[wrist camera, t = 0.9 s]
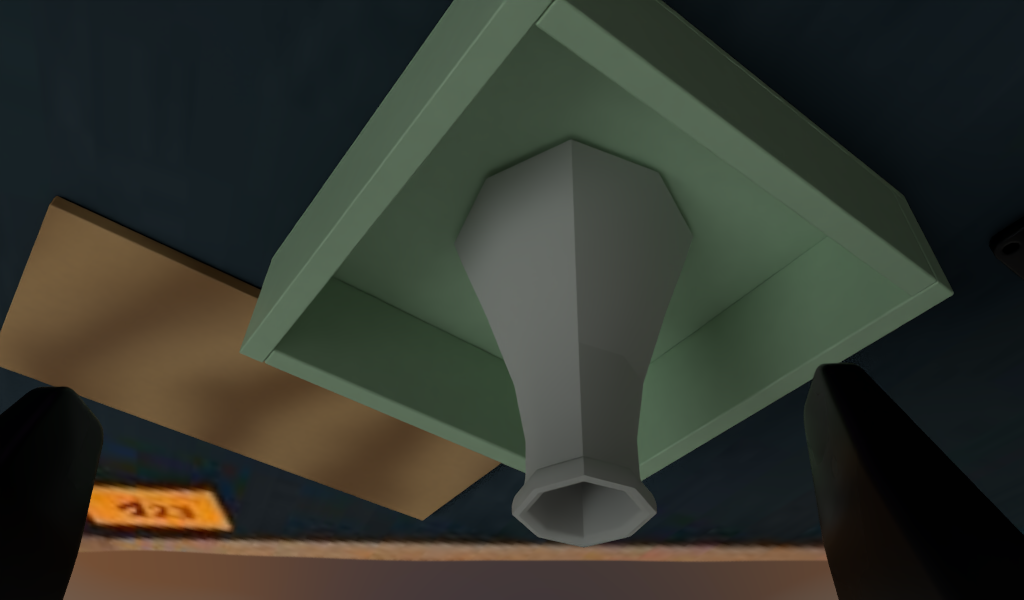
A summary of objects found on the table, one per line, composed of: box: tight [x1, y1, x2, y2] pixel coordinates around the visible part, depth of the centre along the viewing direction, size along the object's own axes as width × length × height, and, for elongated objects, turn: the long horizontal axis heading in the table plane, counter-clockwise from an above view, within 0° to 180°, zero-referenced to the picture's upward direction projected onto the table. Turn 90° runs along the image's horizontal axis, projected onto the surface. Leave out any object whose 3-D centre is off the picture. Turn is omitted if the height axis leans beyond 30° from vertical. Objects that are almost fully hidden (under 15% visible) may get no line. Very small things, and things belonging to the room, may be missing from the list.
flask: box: [454, 139, 693, 547], centre depth 22 cm, size 7×7×10 cm
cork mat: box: [0, 196, 501, 520], centre depth 32 cm, size 20×10×1 cm, turn 54°
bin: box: [239, 0, 954, 481], centre depth 24 cm, size 15×15×4 cm
